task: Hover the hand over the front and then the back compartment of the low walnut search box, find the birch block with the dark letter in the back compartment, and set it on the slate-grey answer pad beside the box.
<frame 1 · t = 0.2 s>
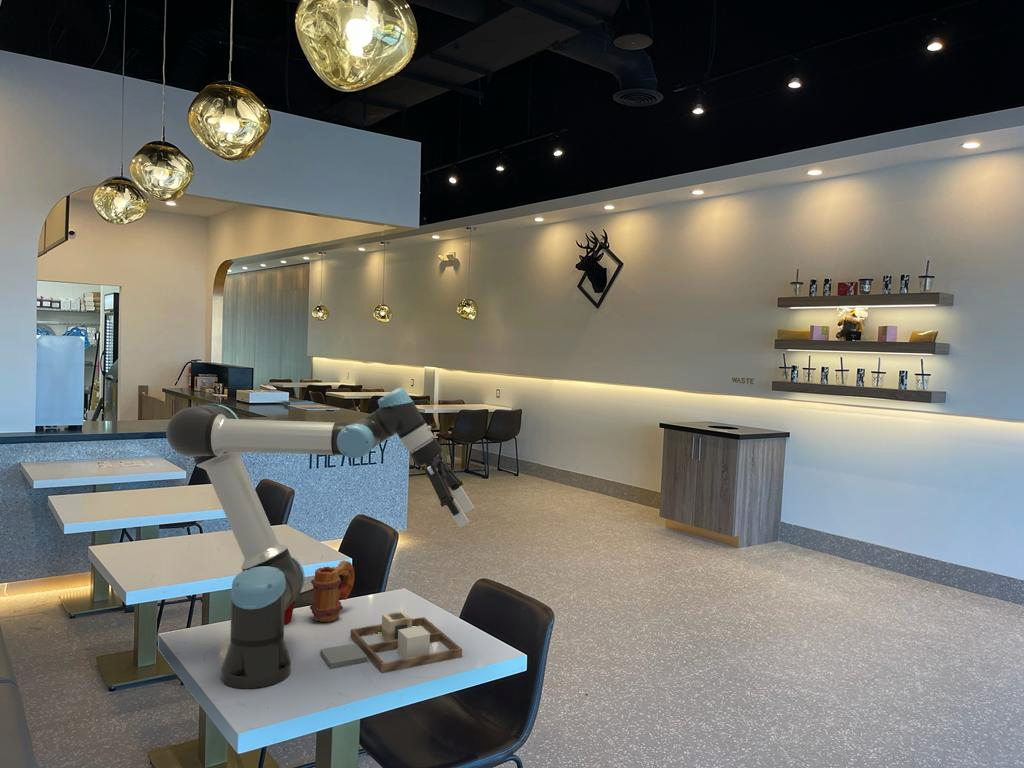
hand: (467, 517, 178), 35 cm above the table, tool tilted 35°, fingers open, 13 cm apart
plastic cup: (280, 622, 197), on the table
answer pad: (343, 657, 175), on the table
blank block: (413, 655, 178), resting in search box
search box: (404, 646, 183), on the table
mug: (332, 617, 202), on the table
letter cube: (396, 638, 188), resting in search box
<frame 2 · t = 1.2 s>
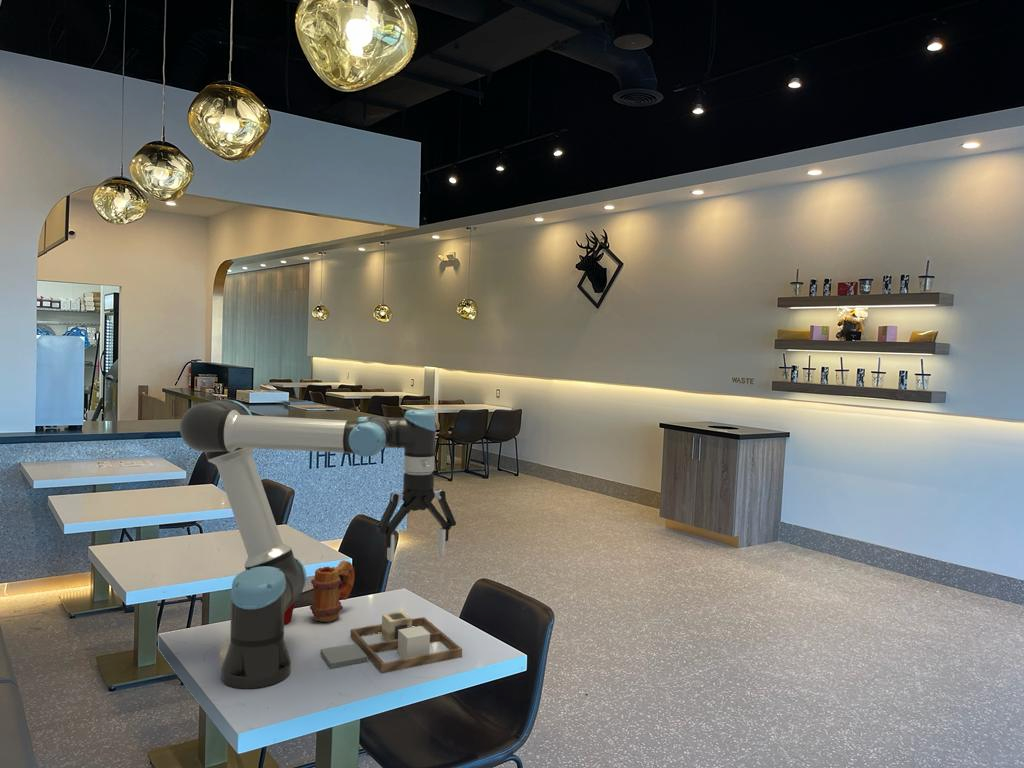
hand: (416, 557, 178), 25 cm above the table, tool pointing down, fingers open, 13 cm apart
nothing on the table moved.
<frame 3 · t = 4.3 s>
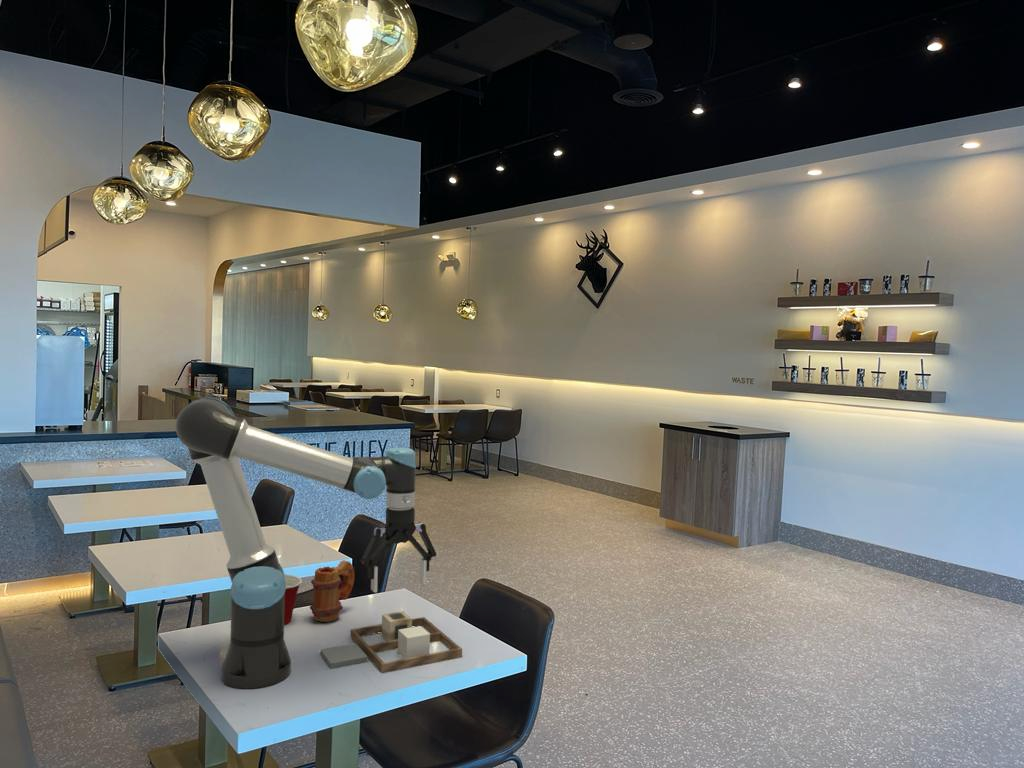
hand: (398, 587, 188), 14 cm above the table, tool pointing down, fingers open, 13 cm apart
nothing on the table moved.
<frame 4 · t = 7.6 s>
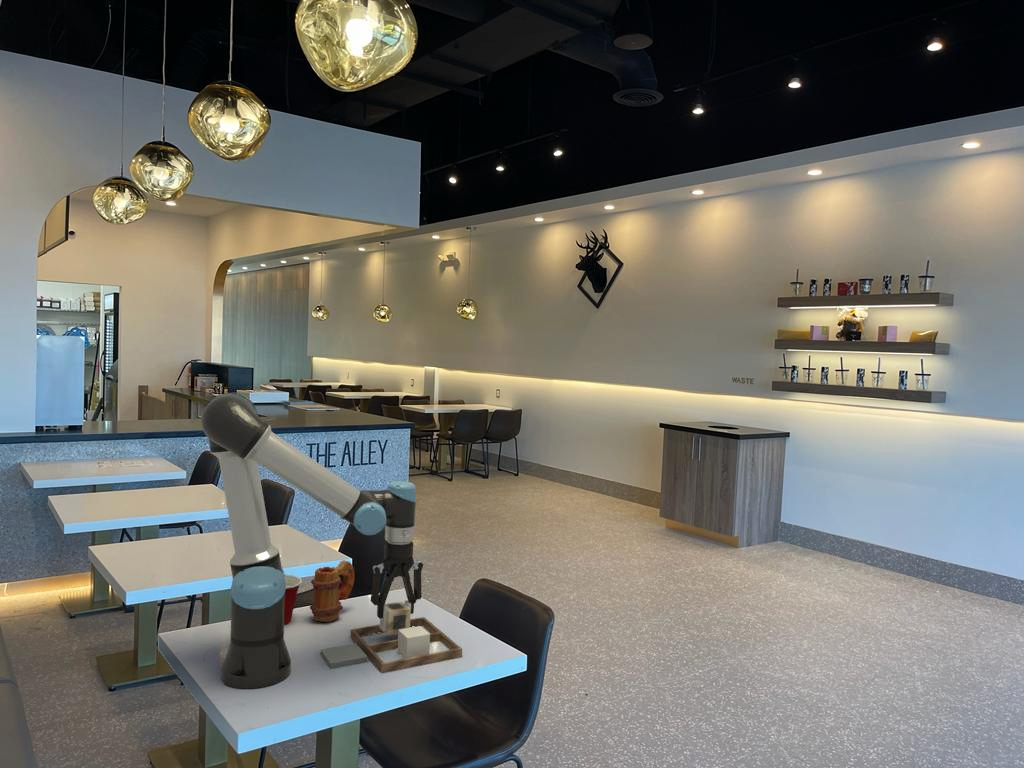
hand: (394, 627, 188), 3 cm above the table, tool pointing down, fingers closed on letter cube, 6 cm apart
letter cube: (394, 629, 188), point 3 cm above the table, touching gripper
everything else where it was.
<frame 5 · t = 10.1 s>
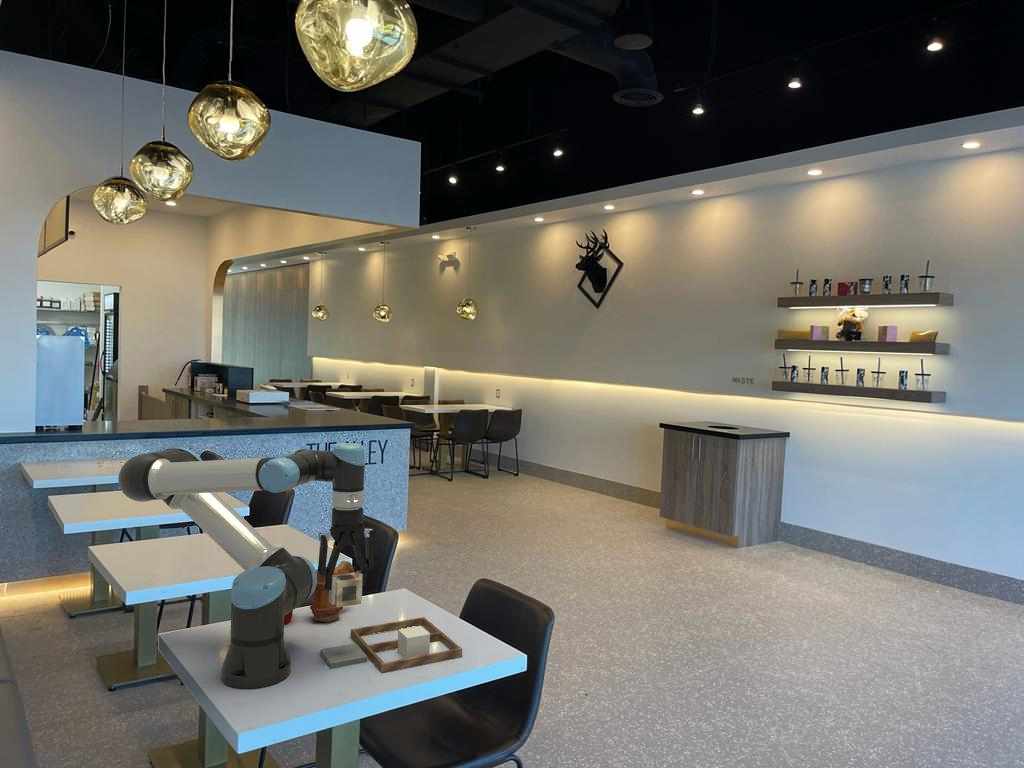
hand: (345, 600, 175), 14 cm above the table, tool pointing down, fingers closed on letter cube, 6 cm apart
letter cube: (345, 601, 175), point 14 cm above the table, touching gripper
everything else where it was.
when the fingers open (3 cm above the table, at t = 12.4 s): letter cube drops 1 cm, resting on answer pad.
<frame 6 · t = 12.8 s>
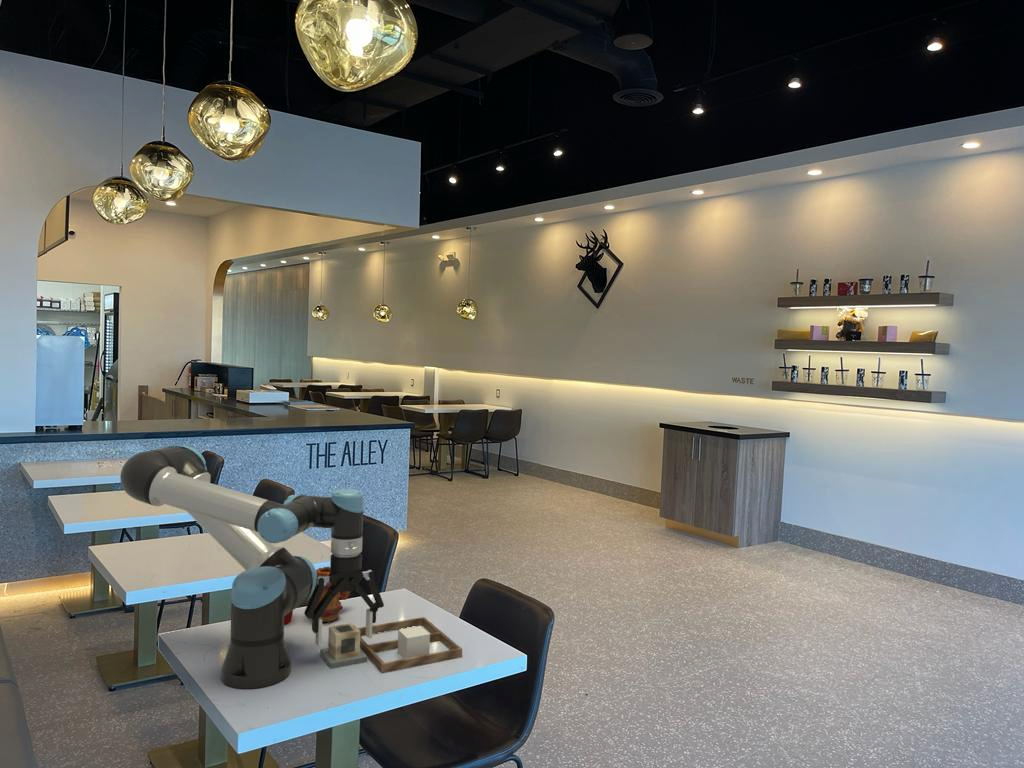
hand: (344, 640, 175), 4 cm above the table, tool pointing down, fingers open, 12 cm apart
letter cube: (343, 653, 175), point 1 cm above the table, touching answer pad
everything else where it was.
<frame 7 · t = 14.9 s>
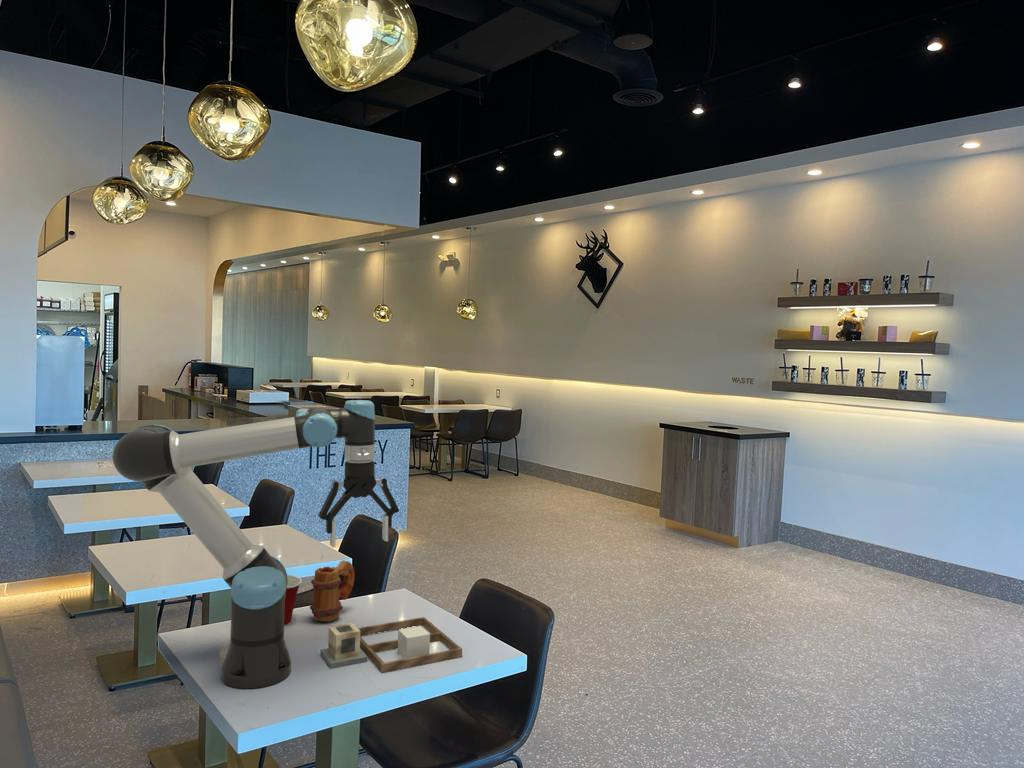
hand: (359, 542, 183), 26 cm above the table, tool pointing down, fingers open, 13 cm apart
nothing on the table moved.
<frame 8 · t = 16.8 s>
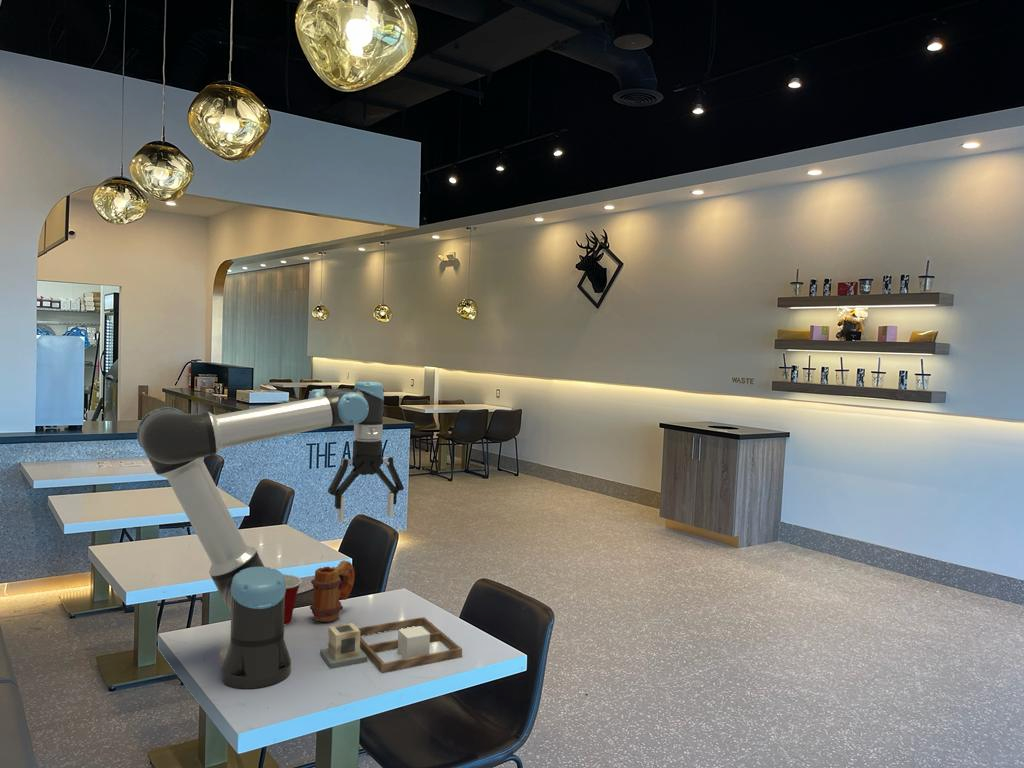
hand: (365, 518, 191), 31 cm above the table, tool pointing down, fingers open, 13 cm apart
nothing on the table moved.
at the end: letter cube inside the target area on the answer pad (0.0 cm from its centre), point 1.2 cm above the answer pad's base; letter cube tilted 0°; the gripper is holding nothing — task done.
